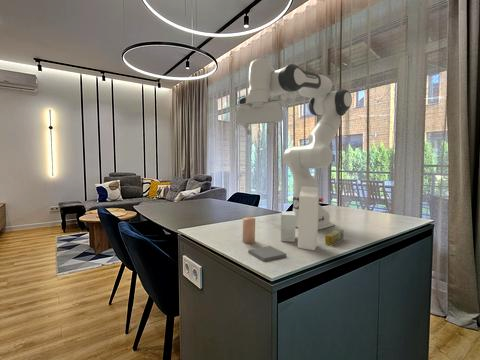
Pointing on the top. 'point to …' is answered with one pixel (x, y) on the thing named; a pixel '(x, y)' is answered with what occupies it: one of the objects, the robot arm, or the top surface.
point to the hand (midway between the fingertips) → (258, 134)
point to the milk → (308, 218)
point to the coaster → (267, 253)
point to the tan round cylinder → (248, 230)
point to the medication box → (334, 237)
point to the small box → (288, 226)
